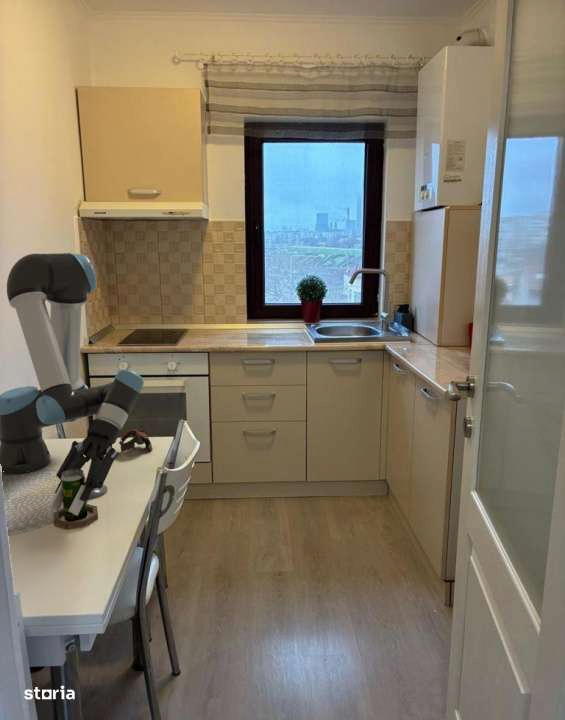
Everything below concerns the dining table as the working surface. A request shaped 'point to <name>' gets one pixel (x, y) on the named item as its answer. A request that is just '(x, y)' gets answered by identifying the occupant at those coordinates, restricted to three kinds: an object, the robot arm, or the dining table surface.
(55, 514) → the walnut ring
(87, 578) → the dining table surface
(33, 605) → the dining table surface
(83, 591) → the dining table surface
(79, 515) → the beer can
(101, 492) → the slate coaster
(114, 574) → the dining table surface
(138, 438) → the dark brown arched part
